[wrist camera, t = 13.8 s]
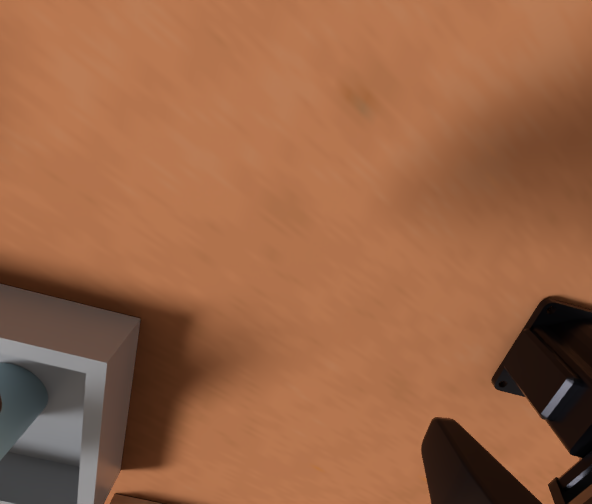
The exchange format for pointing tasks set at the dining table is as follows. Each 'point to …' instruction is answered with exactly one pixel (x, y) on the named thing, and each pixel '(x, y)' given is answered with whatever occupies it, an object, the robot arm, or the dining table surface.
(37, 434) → the bin
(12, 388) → the pale blue tapered cylinder
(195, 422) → the dining table surface
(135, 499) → the holder
